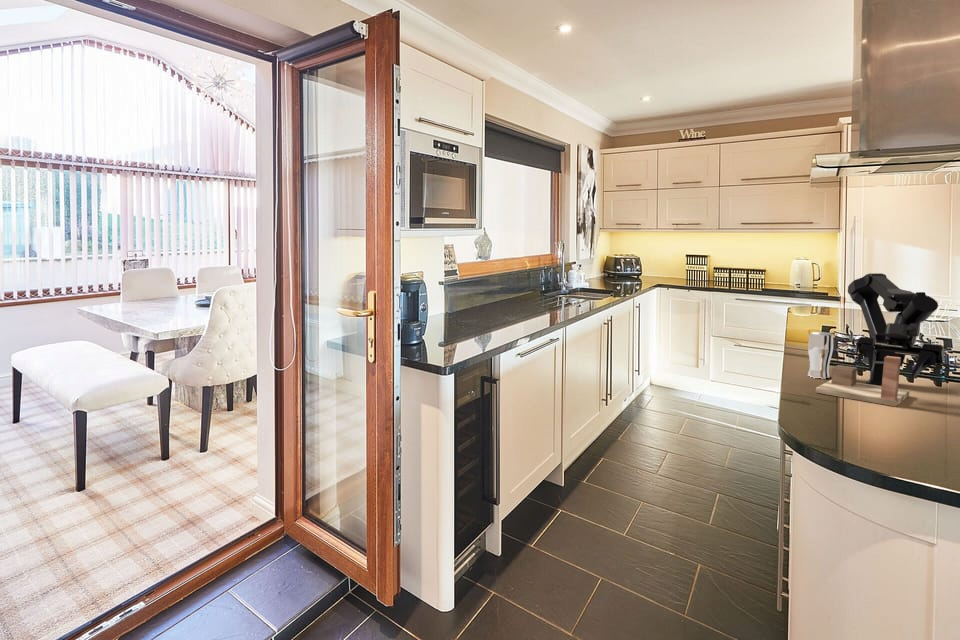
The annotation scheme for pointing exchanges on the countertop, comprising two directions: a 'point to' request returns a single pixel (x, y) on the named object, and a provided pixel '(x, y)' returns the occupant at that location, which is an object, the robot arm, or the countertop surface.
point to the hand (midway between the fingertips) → (891, 374)
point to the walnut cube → (844, 375)
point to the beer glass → (820, 354)
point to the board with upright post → (872, 387)
